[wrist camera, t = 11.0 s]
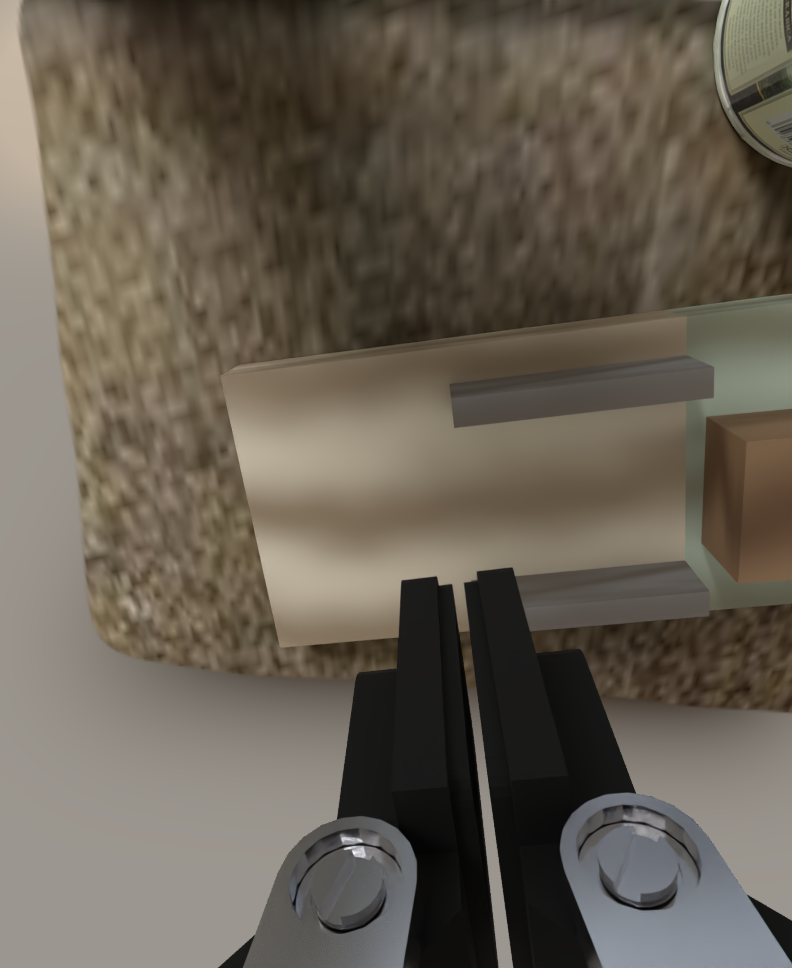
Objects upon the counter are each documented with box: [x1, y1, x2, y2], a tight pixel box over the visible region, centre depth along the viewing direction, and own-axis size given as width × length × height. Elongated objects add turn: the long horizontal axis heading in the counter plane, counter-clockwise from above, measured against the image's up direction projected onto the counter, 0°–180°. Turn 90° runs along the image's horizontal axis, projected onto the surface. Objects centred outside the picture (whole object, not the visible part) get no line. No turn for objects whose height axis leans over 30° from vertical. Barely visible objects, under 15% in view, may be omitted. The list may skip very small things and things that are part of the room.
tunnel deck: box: [220, 293, 792, 648], centre depth 30 cm, size 14×36×6 cm, turn 98°
